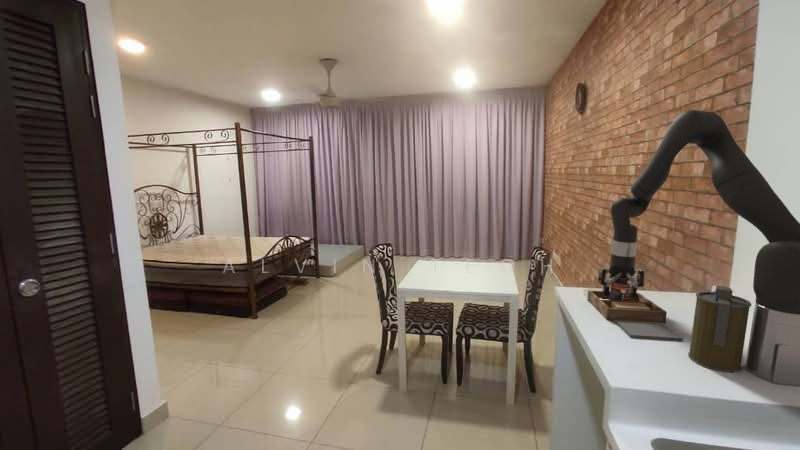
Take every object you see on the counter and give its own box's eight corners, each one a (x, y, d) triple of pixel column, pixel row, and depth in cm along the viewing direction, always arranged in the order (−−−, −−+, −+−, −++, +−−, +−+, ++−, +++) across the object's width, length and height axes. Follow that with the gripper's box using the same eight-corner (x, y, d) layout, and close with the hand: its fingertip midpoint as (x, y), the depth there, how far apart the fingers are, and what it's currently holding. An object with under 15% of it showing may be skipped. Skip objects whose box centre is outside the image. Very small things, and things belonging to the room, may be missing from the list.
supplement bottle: (627, 311, 124) (630, 280, 123) (607, 307, 128) (610, 277, 126) (628, 306, 129) (631, 276, 127) (610, 302, 133) (612, 273, 131)
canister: (688, 347, 99) (696, 279, 96) (739, 360, 92) (750, 287, 89) (688, 364, 90) (697, 290, 87) (743, 378, 84) (756, 299, 81)
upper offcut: (649, 315, 116) (650, 308, 116) (616, 313, 118) (617, 306, 118) (642, 310, 121) (643, 303, 121) (611, 308, 123) (611, 301, 122)
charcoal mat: (682, 340, 103) (682, 338, 103) (630, 337, 105) (630, 334, 105) (661, 324, 113) (661, 322, 113) (614, 321, 116) (614, 319, 116)
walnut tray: (665, 323, 114) (666, 312, 114) (607, 320, 117) (608, 308, 117) (637, 302, 132) (638, 292, 132) (587, 300, 135) (588, 290, 134)
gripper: (606, 255, 123) (602, 299, 125) (650, 256, 121) (645, 301, 123) (597, 250, 130) (594, 291, 133) (639, 251, 128) (635, 293, 130)
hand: (619, 296), depth 128 cm, fingers open, 8 cm apart
